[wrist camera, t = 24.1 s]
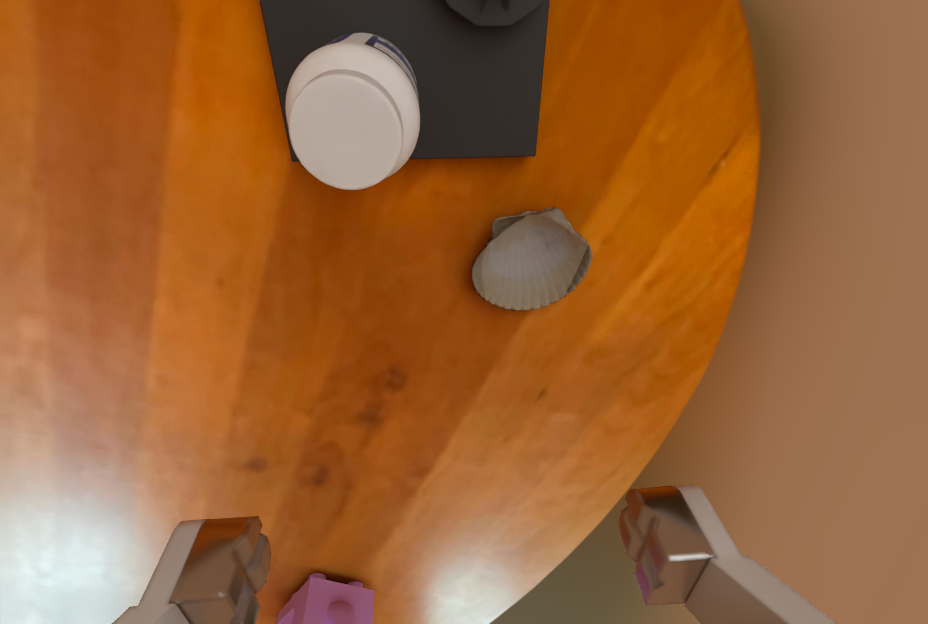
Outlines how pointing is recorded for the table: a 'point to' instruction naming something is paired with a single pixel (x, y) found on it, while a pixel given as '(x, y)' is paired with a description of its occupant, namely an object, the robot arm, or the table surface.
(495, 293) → the seashell
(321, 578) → the teapot
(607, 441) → the table surface
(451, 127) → the black button board
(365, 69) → the pill bottle
